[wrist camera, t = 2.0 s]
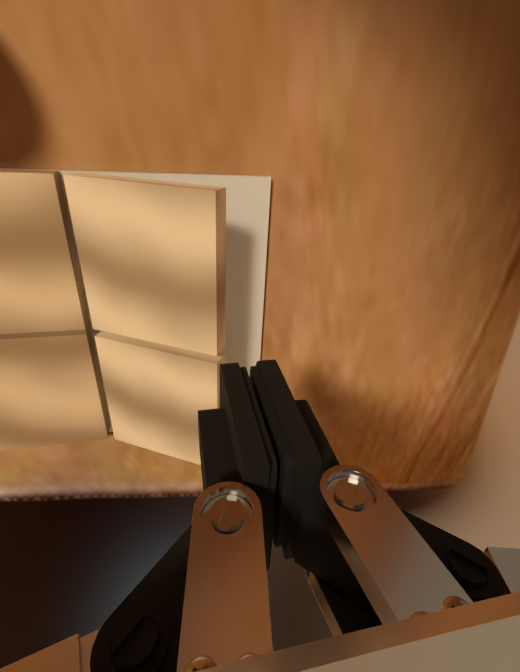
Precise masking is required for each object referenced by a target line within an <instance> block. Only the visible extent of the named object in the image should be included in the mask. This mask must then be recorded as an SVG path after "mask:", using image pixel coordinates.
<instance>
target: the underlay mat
mask: <svg viewBox="0 0 520 672" xmlns="http://www.w3.org/2000/svg"><path fill="white" fill-rule="evenodd" d="M0 169H6V168H0ZM6 170H40V169H6ZM42 171H59V173H60V178H61V183H62V188H63V193H64V198H65V203H66V208H67V213H68V218H69V223H70V228H71V233H72V238H73V243H74V248H75V253H76V258H77V263H78V268H79V273H80V278H81V284H82V289H83V294H84V299H85V304H86V309H87V314H88V319H89V324H90V329H91V334H92V339H93V344H94V349H95V354H96V359H97V364H98V369H99V374H100V379H101V384H102V389H103V394H104V399H105V404H106V409H107V414H108V419H109V424H110V430H109V432H112V431H113V429H112V424H111V419H110V413H109V408H108V403H107V398H106V393H105V388H104V383H103V378H102V373H101V368H100V362H99V357H98V352H97V347H96V342H95V337H94V336H95V335H97V334H98V333H100V332H101V331H100V330H96V329H93V327H92V322H91V317H90V311H89V306H88V301H87V296H86V291H85V286H84V281H83V276H82V271H81V266H80V260H79V255H78V250H77V245H76V240H75V235H74V230H73V225H72V220H71V215H70V210H69V204H68V199H67V194H66V189H65V184H64V179H63V174H71V173H79V172H82V173H91V174H101V175H111V176H121V177H130V178H140V179H150V180H160V181H169V182H179V183H189V184H198V185H208V186H218V187H226V302H225V347H224V348H223V349H222V351H221V352H222V353H225V363H239V366H240V367H246V369H247V372H248V375H249V378H250V367H251V366H256V362H257V361H260V354H261V337H262V321H263V305H264V288H265V272H266V255H267V239H268V222H269V206H270V190H271V177H270V176H250V175H215V174H180V173H145V172H110V171H75V170H42Z"/></svg>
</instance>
